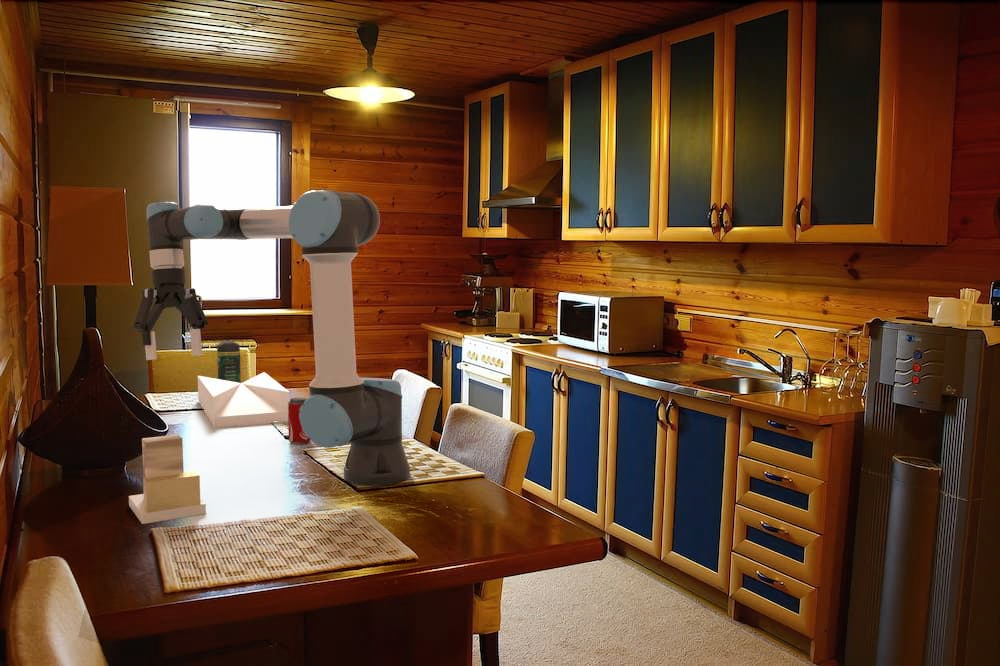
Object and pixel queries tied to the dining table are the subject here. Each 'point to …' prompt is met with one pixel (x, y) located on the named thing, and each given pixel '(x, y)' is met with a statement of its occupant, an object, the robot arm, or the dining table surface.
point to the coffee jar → (229, 361)
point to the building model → (243, 400)
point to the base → (138, 508)
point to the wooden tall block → (162, 456)
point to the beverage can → (296, 422)
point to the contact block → (171, 492)
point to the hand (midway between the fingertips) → (175, 357)
